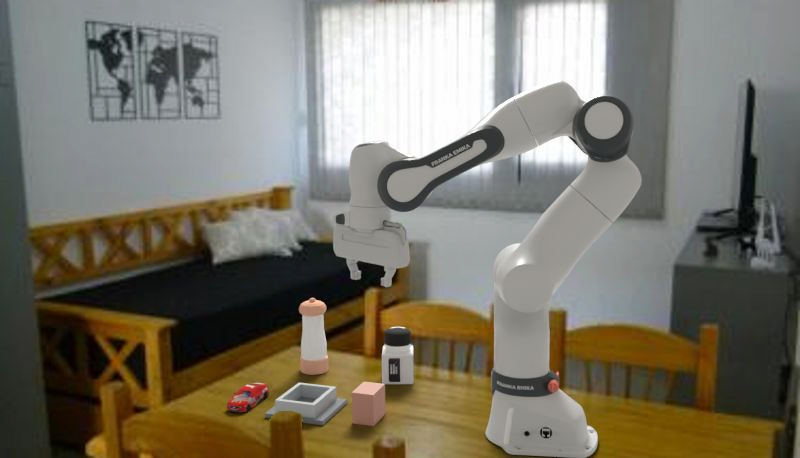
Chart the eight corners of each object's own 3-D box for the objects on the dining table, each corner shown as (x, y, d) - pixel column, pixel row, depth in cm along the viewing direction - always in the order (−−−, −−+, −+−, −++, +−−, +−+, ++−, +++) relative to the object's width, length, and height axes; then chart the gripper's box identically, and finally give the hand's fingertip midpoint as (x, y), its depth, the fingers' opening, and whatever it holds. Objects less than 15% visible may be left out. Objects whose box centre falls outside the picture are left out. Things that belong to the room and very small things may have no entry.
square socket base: (346, 403, 175) (346, 386, 174) (323, 425, 163) (322, 407, 162) (292, 396, 180) (291, 380, 179) (265, 417, 167) (264, 400, 167)
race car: (243, 416, 169) (243, 399, 168) (222, 413, 171) (221, 396, 170) (273, 395, 181) (272, 379, 181) (253, 392, 183) (252, 376, 182)
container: (413, 384, 186) (413, 333, 184) (382, 384, 187) (381, 333, 185) (413, 373, 194) (413, 324, 192) (383, 374, 194) (382, 324, 192)
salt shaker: (303, 365, 202) (301, 294, 199) (331, 365, 201) (329, 294, 198) (297, 374, 195) (295, 301, 192) (325, 375, 194) (323, 301, 191)
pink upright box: (385, 414, 169) (384, 383, 168) (374, 426, 162) (373, 395, 161) (364, 411, 170) (363, 381, 169) (352, 423, 164) (351, 392, 163)
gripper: (416, 222, 155) (416, 288, 157) (349, 212, 169) (350, 273, 172) (395, 225, 151) (395, 293, 153) (327, 215, 165) (328, 277, 167)
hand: (370, 282), depth 162 cm, fingers open, 8 cm apart
